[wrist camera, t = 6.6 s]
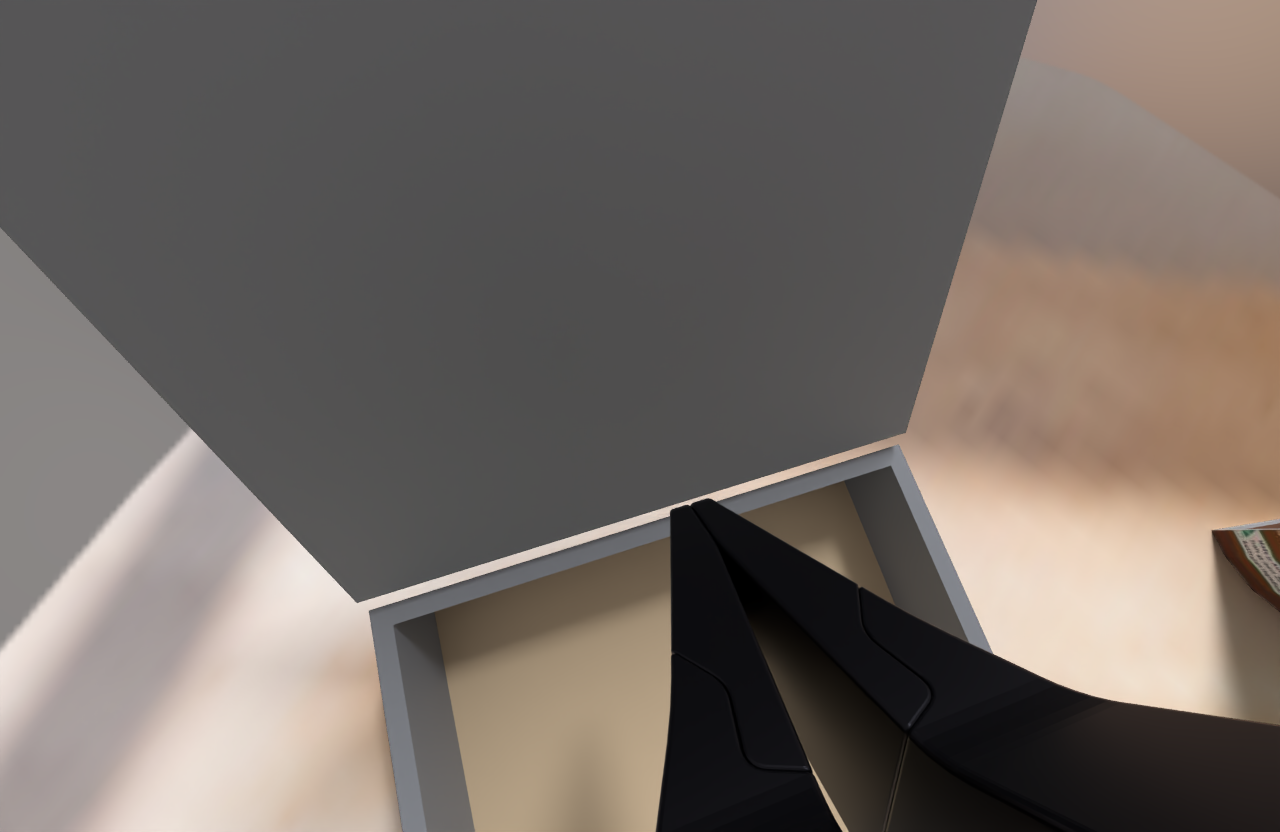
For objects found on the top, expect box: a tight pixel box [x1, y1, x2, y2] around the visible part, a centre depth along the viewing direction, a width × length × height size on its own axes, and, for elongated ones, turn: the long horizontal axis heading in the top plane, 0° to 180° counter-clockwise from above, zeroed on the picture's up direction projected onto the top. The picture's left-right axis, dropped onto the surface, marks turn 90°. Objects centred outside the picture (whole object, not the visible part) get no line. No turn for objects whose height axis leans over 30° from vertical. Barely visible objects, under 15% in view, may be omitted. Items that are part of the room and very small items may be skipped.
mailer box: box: [369, 445, 993, 832], centre depth 15 cm, size 14×18×4 cm
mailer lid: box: [0, 0, 1037, 603], centre depth 11 cm, size 14×18×1 cm
